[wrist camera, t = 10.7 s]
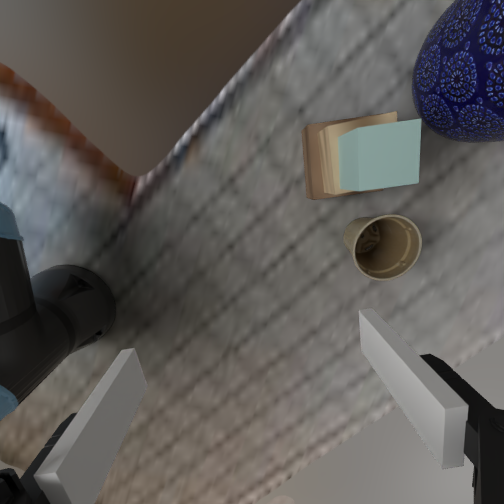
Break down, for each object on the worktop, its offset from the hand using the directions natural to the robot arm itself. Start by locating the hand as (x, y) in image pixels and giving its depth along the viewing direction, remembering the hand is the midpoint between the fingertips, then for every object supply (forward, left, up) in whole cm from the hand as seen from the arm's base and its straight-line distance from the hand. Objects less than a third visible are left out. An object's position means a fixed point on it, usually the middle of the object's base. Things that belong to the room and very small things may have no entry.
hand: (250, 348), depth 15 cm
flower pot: (+19, -2, -30) cm, 35 cm away
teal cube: (+15, +10, -20) cm, 27 cm away
